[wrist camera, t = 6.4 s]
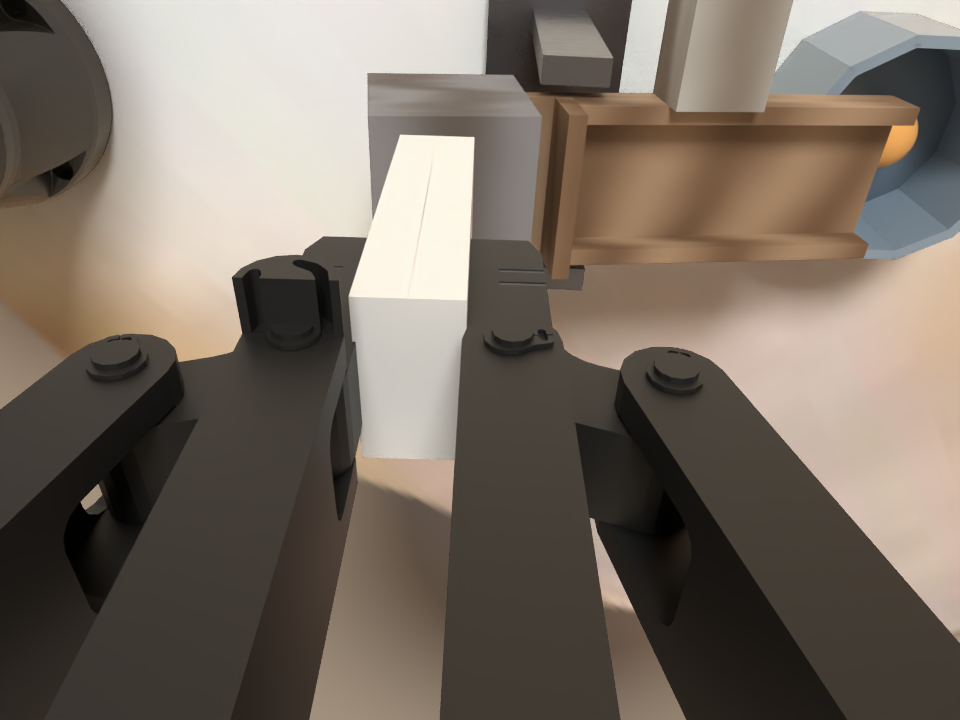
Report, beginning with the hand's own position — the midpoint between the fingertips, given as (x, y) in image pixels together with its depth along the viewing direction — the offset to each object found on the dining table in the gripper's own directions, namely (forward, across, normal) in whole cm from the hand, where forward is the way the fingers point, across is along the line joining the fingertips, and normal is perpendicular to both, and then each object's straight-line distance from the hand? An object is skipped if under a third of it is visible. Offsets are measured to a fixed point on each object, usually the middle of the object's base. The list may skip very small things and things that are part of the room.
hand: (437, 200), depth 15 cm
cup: (+31, +24, -7) cm, 40 cm away
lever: (+23, +8, -3) cm, 25 cm away
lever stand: (+32, +5, -6) cm, 33 cm away
